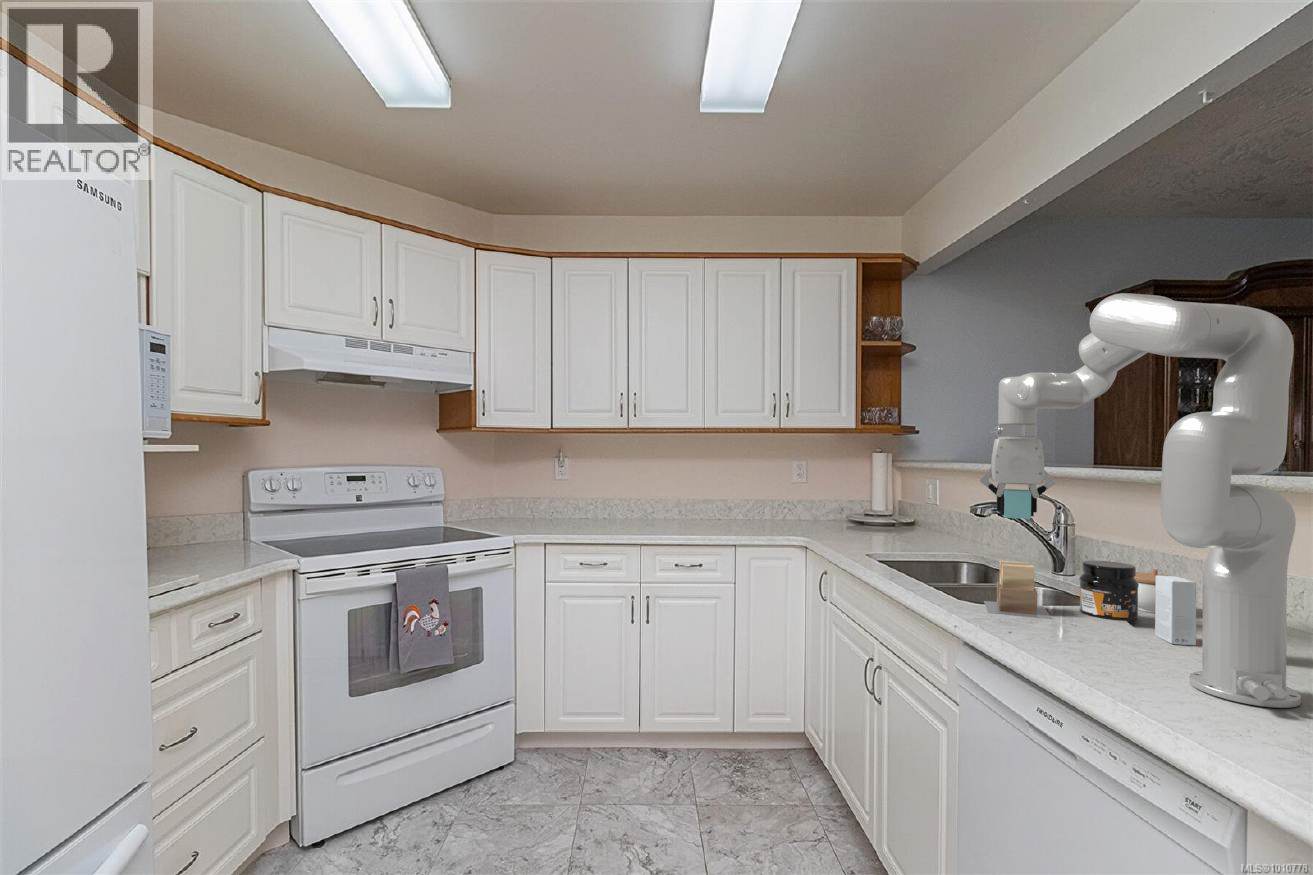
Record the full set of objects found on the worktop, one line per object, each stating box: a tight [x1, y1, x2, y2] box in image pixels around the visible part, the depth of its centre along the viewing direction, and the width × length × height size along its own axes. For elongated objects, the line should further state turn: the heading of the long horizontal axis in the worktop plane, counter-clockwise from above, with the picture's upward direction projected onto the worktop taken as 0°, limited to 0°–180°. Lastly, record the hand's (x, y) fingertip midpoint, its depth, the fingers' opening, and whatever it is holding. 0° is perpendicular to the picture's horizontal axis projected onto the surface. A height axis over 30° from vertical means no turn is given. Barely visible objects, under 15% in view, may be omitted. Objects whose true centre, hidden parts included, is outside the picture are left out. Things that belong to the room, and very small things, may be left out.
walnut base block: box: [996, 581, 1038, 615], centre depth 145 cm, size 7×7×5 cm
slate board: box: [983, 600, 1053, 620], centre depth 145 cm, size 12×12×1 cm
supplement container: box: [1079, 559, 1139, 626], centre depth 142 cm, size 10×10×12 cm
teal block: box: [1001, 488, 1032, 520], centre depth 145 cm, size 5×5×6 cm
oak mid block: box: [999, 560, 1035, 591], centre depth 145 cm, size 6×6×5 cm
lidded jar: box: [1134, 568, 1171, 614], centre depth 150 cm, size 11×11×9 cm
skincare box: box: [1154, 575, 1197, 646], centre depth 127 cm, size 6×4×12 cm
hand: (1016, 514), depth 145 cm, fingers closed on teal block, 5 cm apart
